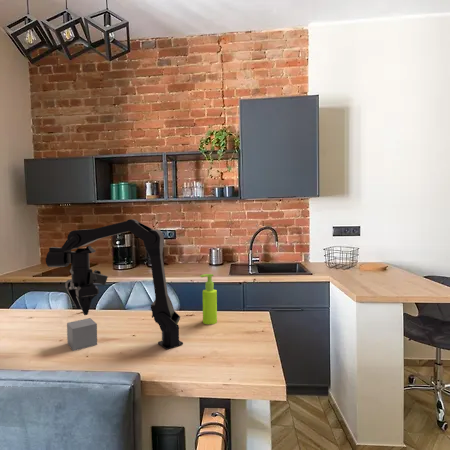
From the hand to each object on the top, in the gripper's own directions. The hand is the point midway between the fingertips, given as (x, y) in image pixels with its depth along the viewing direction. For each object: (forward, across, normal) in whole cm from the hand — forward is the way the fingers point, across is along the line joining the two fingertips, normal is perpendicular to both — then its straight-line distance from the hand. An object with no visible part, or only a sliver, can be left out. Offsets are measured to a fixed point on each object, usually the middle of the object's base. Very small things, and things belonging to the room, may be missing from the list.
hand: (82, 311), depth 104 cm
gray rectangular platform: (+12, +1, 0) cm, 12 cm away
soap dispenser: (+12, -10, -46) cm, 49 cm away
